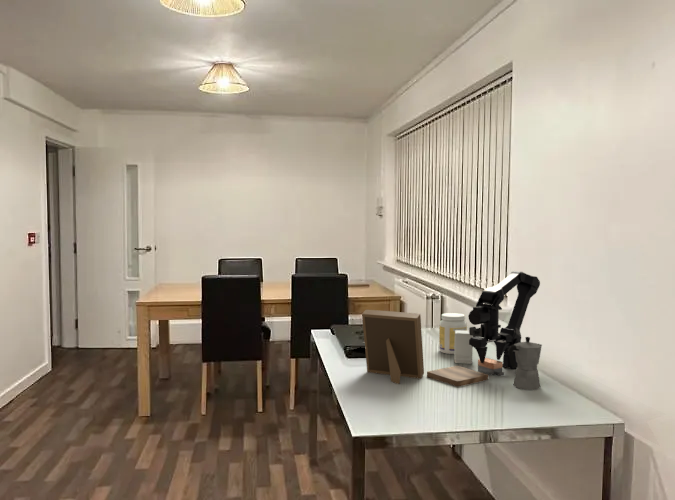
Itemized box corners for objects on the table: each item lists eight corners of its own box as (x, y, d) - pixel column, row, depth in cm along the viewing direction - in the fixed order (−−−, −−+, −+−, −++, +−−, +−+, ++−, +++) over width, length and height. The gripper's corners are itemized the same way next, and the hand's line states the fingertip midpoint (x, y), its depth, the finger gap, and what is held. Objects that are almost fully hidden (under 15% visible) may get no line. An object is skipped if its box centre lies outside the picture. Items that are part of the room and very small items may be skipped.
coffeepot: (530, 380, 216) (531, 333, 215) (550, 387, 208) (551, 337, 207) (498, 386, 210) (499, 336, 209) (517, 393, 201) (518, 341, 200)
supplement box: (472, 364, 241) (472, 333, 240) (454, 363, 242) (454, 333, 242) (472, 359, 248) (472, 330, 248) (454, 358, 250) (454, 329, 249)
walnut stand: (456, 370, 231) (456, 365, 231) (488, 379, 217) (488, 374, 217) (426, 376, 222) (427, 371, 222) (457, 386, 208) (457, 381, 208)
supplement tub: (470, 350, 265) (471, 314, 264) (460, 356, 254) (461, 318, 253) (445, 347, 271) (445, 311, 270) (434, 352, 261) (435, 315, 260)
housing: (486, 369, 233) (486, 357, 233) (506, 374, 225) (506, 363, 224) (477, 371, 230) (477, 359, 230) (497, 376, 222) (497, 364, 222)
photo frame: (371, 369, 232) (371, 307, 230) (424, 375, 223) (424, 311, 221) (356, 379, 219) (356, 313, 217) (412, 386, 210) (412, 317, 208)
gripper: (491, 316, 239) (490, 354, 240) (458, 321, 229) (458, 360, 230) (513, 320, 230) (512, 359, 231) (480, 325, 219) (479, 366, 220)
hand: (490, 361), depth 228 cm, fingers open, 9 cm apart
